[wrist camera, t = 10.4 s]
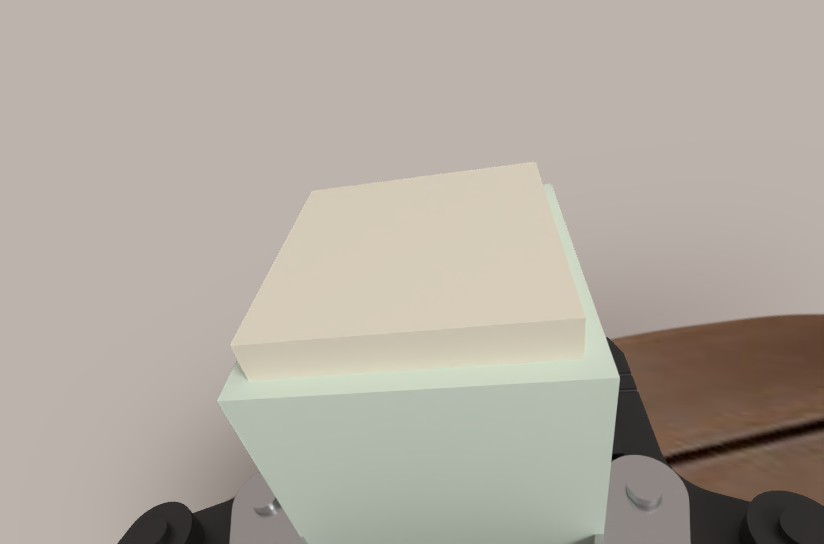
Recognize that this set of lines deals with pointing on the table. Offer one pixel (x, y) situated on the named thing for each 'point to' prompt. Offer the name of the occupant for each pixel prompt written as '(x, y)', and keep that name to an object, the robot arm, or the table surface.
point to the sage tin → (429, 367)
